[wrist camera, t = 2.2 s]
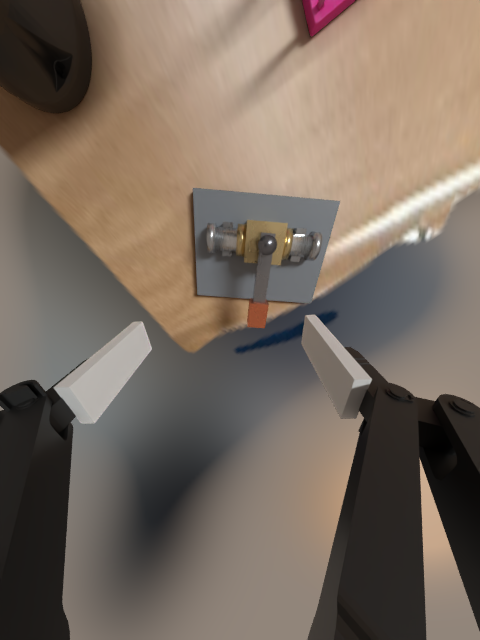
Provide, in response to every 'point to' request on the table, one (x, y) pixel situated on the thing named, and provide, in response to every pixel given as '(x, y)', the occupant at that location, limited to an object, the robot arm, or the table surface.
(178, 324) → the table surface
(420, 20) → the table surface
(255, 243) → the valve pipe
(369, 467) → the robot arm
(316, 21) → the file sorter
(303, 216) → the mounting board
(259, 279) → the valve lever
